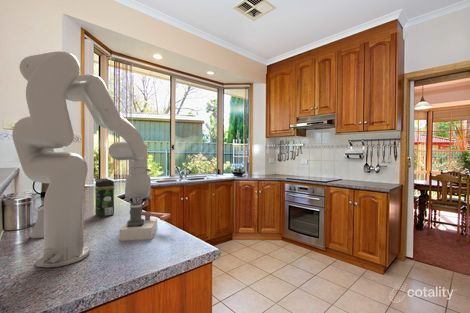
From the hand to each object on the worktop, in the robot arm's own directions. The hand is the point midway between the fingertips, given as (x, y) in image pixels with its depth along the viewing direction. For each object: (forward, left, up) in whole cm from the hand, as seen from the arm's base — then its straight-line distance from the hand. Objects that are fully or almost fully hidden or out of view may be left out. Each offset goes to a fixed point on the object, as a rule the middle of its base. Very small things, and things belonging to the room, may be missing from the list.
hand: (138, 213), depth 99 cm
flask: (-6, +33, -6) cm, 34 cm away
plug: (-11, -2, -6) cm, 13 cm away
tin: (+12, +39, -6) cm, 41 cm away
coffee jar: (+22, +21, -6) cm, 30 cm away
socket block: (-10, -3, -6) cm, 12 cm away
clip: (-7, -5, 0) cm, 9 cm away
